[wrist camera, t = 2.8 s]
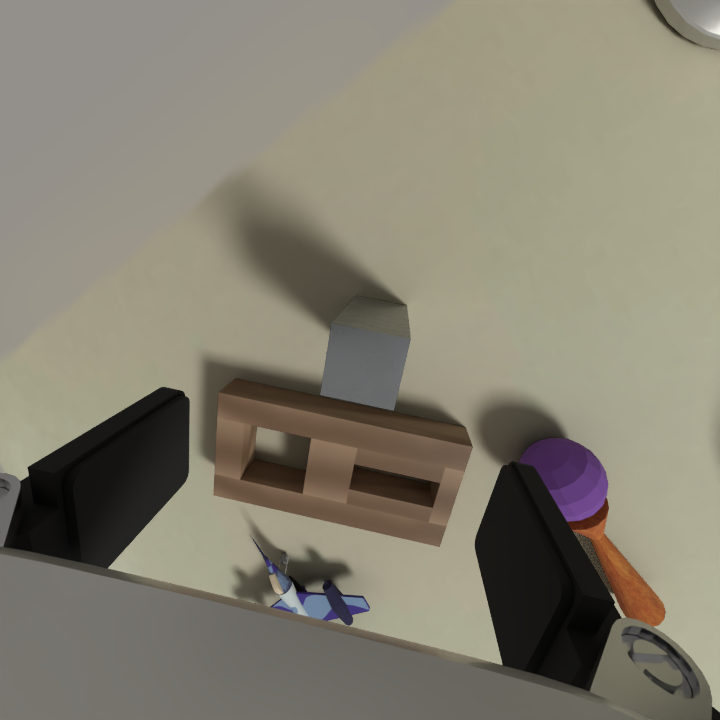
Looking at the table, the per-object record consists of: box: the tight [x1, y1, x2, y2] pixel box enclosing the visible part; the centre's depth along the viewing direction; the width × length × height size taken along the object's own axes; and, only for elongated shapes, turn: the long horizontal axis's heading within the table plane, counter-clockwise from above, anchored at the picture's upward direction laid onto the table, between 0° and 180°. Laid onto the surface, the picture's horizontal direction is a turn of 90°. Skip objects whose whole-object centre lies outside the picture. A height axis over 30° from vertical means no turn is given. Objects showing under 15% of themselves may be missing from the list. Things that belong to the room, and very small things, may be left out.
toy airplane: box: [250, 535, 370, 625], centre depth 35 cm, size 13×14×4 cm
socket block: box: [214, 379, 473, 547], centre depth 30 cm, size 10×20×3 cm, turn 80°
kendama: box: [518, 438, 665, 627], centre depth 29 cm, size 6×6×20 cm
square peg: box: [320, 296, 411, 411], centre depth 23 cm, size 4×4×10 cm
